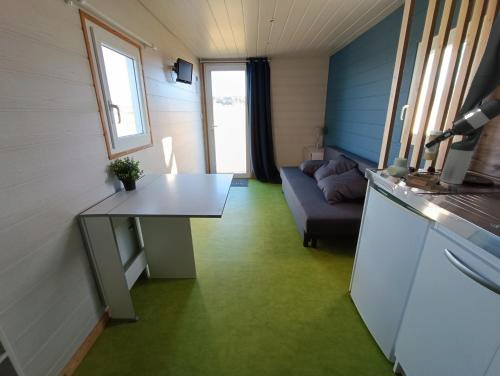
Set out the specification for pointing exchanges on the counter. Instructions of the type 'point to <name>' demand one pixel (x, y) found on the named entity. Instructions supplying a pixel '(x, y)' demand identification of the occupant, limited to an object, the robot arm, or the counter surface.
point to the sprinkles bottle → (432, 150)
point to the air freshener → (398, 168)
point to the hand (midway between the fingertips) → (427, 146)
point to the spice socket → (423, 182)
